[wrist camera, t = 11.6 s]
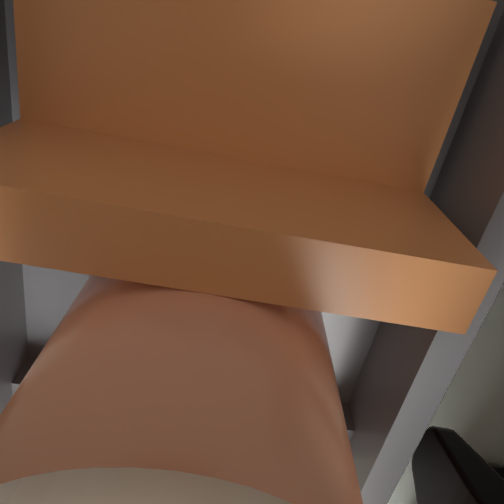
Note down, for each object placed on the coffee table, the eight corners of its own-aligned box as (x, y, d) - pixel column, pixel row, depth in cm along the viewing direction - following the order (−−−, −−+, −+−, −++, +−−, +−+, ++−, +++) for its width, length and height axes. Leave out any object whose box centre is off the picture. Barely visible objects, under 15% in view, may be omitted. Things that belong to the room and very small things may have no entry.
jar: (289, 390, 13) (330, 852, 6) (98, 363, 13) (-114, 823, 5) (340, 219, 11) (525, 665, 3) (102, 177, 10) (-291, 585, 3)
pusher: (483, 2, 8) (640, -7, 5) (398, 231, 11) (464, 335, 7) (22, -98, 8) (-165, -190, 4) (35, 168, 10) (-81, 247, 6)
